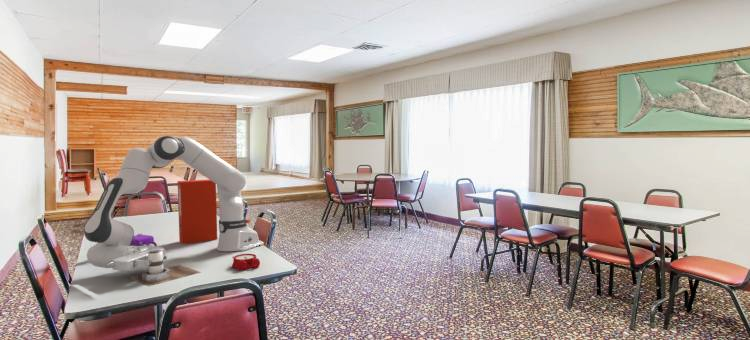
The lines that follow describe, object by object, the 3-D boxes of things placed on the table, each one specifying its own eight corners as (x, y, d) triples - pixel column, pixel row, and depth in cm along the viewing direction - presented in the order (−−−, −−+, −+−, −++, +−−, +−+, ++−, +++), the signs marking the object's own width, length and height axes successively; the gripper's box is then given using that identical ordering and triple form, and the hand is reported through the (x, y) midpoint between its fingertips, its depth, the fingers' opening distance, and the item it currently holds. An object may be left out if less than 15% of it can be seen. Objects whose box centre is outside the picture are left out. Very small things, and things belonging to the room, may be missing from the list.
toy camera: (146, 261, 184) (145, 238, 183) (120, 259, 186) (119, 237, 186) (163, 254, 194) (163, 233, 194) (138, 253, 197) (137, 232, 196)
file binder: (217, 239, 224) (215, 180, 222) (182, 244, 214) (180, 182, 212) (213, 237, 231) (211, 179, 229) (179, 241, 221) (177, 181, 219)
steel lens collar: (162, 273, 163) (162, 266, 163) (173, 277, 158) (173, 270, 158) (139, 278, 156) (138, 272, 156) (150, 283, 151) (149, 276, 151)
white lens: (162, 274, 161) (161, 249, 160) (165, 278, 157) (164, 251, 156) (147, 277, 158) (146, 251, 157) (150, 281, 154) (149, 254, 153)
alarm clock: (252, 252, 184) (262, 252, 172) (254, 266, 183) (264, 267, 171) (228, 255, 179) (237, 255, 166) (229, 270, 178) (238, 271, 165)
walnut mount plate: (179, 267, 174) (179, 264, 174) (201, 274, 164) (201, 272, 164) (127, 279, 159) (127, 277, 158) (148, 288, 148) (148, 286, 148)
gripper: (103, 256, 150) (135, 259, 146) (147, 243, 169) (176, 245, 166) (103, 274, 150) (136, 276, 147) (147, 258, 170) (176, 260, 167)
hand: (157, 259), depth 157 cm, fingers open, 7 cm apart
